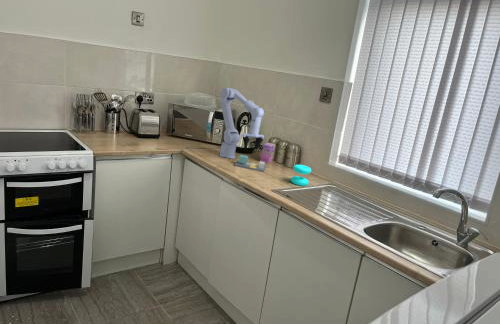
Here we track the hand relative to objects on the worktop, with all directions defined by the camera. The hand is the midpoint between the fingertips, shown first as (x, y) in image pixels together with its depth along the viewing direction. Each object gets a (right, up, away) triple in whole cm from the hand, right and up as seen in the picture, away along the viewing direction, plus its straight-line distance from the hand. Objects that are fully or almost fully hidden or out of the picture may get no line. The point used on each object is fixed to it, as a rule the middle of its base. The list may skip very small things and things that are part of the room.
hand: (250, 148), depth 236 cm
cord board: (0, -11, -4) cm, 12 cm away
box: (+10, -8, +18) cm, 22 cm away
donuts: (+27, -20, -21) cm, 40 cm away
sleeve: (-5, -8, -4) cm, 10 cm away
